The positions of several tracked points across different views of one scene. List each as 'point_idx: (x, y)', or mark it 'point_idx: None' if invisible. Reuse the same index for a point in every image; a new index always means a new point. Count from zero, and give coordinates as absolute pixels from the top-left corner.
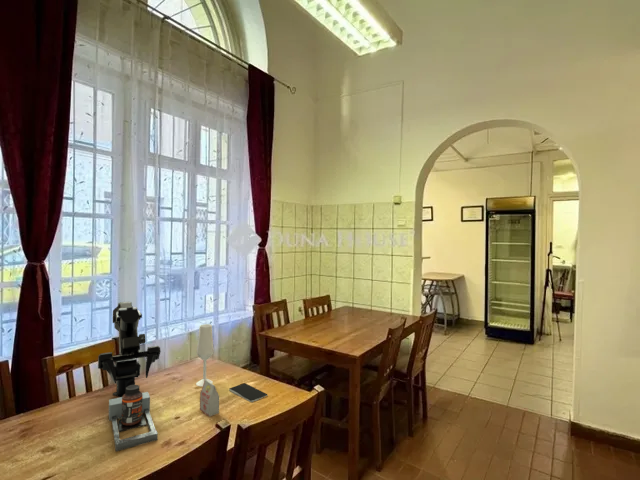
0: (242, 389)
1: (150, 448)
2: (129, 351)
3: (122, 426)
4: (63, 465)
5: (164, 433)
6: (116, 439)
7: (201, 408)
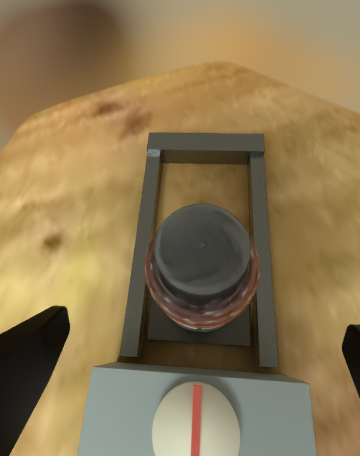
0: None
1: (177, 121)
2: None
3: None
4: None
5: (125, 168)
6: (260, 170)
7: None
